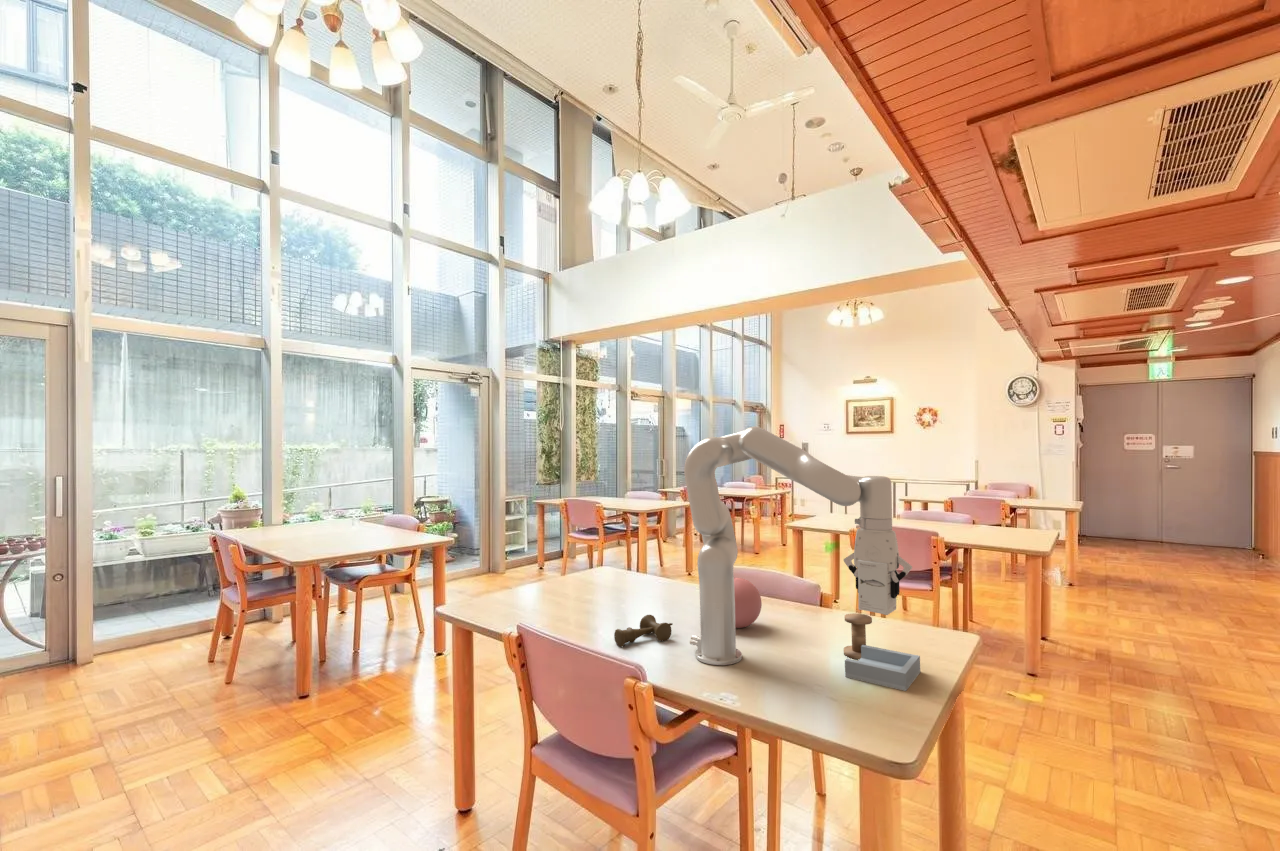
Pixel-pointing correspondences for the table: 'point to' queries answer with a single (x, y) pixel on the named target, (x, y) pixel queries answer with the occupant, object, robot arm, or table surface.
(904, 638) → the table surface
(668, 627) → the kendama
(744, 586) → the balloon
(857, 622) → the doorknob
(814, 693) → the table surface
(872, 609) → the supplement box
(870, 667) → the square tray
